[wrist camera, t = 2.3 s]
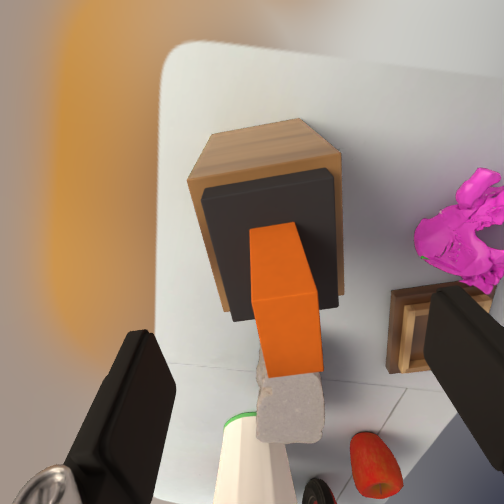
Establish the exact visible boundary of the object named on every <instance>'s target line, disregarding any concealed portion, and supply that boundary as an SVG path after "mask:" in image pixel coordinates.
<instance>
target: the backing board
mask: <svg viewBox="0 0 504 504" xmlns="http://www.w3.org/2000/svg"><path fill="white" fill-rule="evenodd" d="M483 279H484V280H485V277H484V278H483ZM455 285H458V286H460V287H462V288H463V289H464V290H465V291H466V292H467V293H468V294H469V295H470V296H471V297H472V298H473V299H474V300H475V301H476V302H477V303H478V304H479V305H480V306H481V307H482V308H483V309H484V310H485V311H486V312H487V313H489V311H490V308H491V304H492V301H493V297H494V294H495V290H496V287H497V285H493V284H492V285H493V290H492V291H491V293H490V294H485V293H484V292H483V291H481V290H480V289H479V288H477V287H476V286H474V285H472V286H469V285H467V284H466V283H463V282H460V281H455V282H448V283H441V284H434V285H427V286H420V287H413V288H406V289H399V290H392V291H391V303H390V316H389V330H388V343H387V357H386V368H387V370H388V372H389V374H395V373H411V372H419V371H427V370H431V369H430V367H429V366H428V364H427V363H426V361H425V358H424V354H423V349H424V342H425V335H426V328H427V321H428V314H429V307H430V301H431V295H432V294H433V293H436V290H437V289H438V288H441V287H448V286H455Z"/></svg>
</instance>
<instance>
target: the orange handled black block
mask: <svg viewBox="0 0 504 504" xmlns="http://www.w3.org/2000/svg"><path fill="white" fill-rule="evenodd" d="M201 204H202V208H203V211H204V215H205V219H206V223H207V226H208V230H209V234H210V238H211V241H212V245H213V249H214V252H215V256H216V260H217V264H218V267H219V271H220V275H221V279H222V282H223V286H224V290H225V293H226V297H227V301H228V305H229V308H230V312H231V316H232V320H233V322H238V321H245V320H252V319H255V320H256V325H257V329H258V334H259V338H260V343H261V348H262V352H263V357H264V361H265V366H266V370H267V375H268V378H275V377H283V376H291V375H298V374H306V373H314V372H322V371H324V366H323V353H322V341H321V328H320V315H319V310H322V309H330V308H337V307H338V306H339V300H338V272H337V244H336V216H335V187H334V177H333V175H332V174H331V173H330V172H329V171H328V169H327V168H325V167H324V168H319V169H313V170H307V171H301V172H295V173H290V174H284V175H278V176H272V177H266V178H261V179H255V180H249V181H243V182H238V183H232V184H226V185H220V186H214V187H209V188H205V189H204V191H203V194H202V197H201Z"/></svg>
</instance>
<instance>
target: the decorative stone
mask: <svg viewBox="0 0 504 504" xmlns="http://www.w3.org/2000/svg"><path fill="white" fill-rule="evenodd" d="M256 380H257V383H258V385H259V387H260V390H259V396H258V400H257V415H256V425H257V427H256V438H257V439H258V440H259V441H261V442H265V443H271V442H275V443H284V444H290V443H297V442H300V443H308V444H312V443H315V442H317V441H319V440H320V439H321V437H322V429H323V426H324V423H325V403H324V394H323V391H322V384H321V376H320V372H314V373H306V374H298V375H291V376H283V377H275V378H268V375H267V370H266V366H265V361H264V357H263V352H262V348H261V343H260V350H259V362H258V366H257V376H256Z"/></svg>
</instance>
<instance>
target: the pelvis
mask: <svg viewBox="0 0 504 504" xmlns="http://www.w3.org/2000/svg"><path fill="white" fill-rule="evenodd" d="M500 180H501V176H500V174H499V173H498V172H495V171H492V170H489V169H486V168H478V169H477V170H476V172H475V173H474V174H473V175H472V177H471V178H470V179H469V180H467V181H465V182H464V183H463V184H462V185H461V187H460V188H459V189H458V190H457V192H456V201H457V202H458V204H456V205H451V206H448V207H446V208H444V209H443V210H440V212H439V214H438V215H437V216H435V217H433V218H431V219H426V218H424V219H422V220H421V222H420V224H419V225H418V226H417V228H416V230H415V235H414V244H415V249H416V251H417V253H418V255H419V256H421V259H423V260H425V261H426V262H427V263H429V264H430V265H433V266H434V267H436V268H439V269H441V270H443V271H445V272H447V273H450V274H454V275H458V276H461V277H462V279H464V280H459V281H460V282H463V283H466V284H467V285H469V286H472V285H474V286H476V287H477V288H479V289H480V290H481V291H483V292H484V293H485V294H490V293H491V291H492V290H493V285H497V283H499V280H500V279H501V278H502V277H503V275H504V250H498V249H494V248H490V247H488V246H487V245H486V244H485V243H484V242H483V241H481V240H480V239H479V238H478V237H477V236H476V233H475V230H477V231H478V230H480V229H481V230H483V228H484V227H490V226H491V225H494V224H497V225H498V224H499V225H502V224H503V222H504V186H502V187H490V186H491V185H493V184H495V183H498V182H499V181H500ZM497 194H498V196H497ZM493 196H497V197H494V198H491V197H493ZM452 243H453V246H452V248H451V245H452ZM446 246H447V247H446ZM445 247H446V251H445ZM450 248H451V249H450ZM449 249H450V250H449ZM443 251H445V252H444V254H443V255H442V253H443ZM448 251H449V252H448ZM441 255H442V256H441ZM439 256H440V258H439ZM449 256H450V257H449ZM484 277H485V280H484V279H483V278H484ZM492 284H493V285H492Z"/></svg>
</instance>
